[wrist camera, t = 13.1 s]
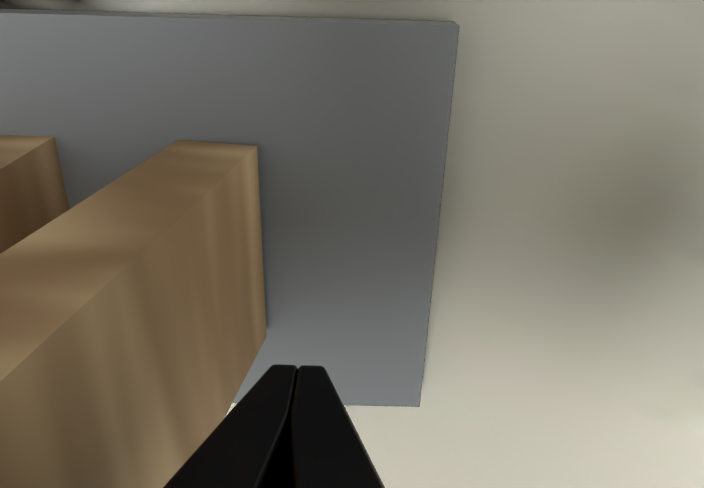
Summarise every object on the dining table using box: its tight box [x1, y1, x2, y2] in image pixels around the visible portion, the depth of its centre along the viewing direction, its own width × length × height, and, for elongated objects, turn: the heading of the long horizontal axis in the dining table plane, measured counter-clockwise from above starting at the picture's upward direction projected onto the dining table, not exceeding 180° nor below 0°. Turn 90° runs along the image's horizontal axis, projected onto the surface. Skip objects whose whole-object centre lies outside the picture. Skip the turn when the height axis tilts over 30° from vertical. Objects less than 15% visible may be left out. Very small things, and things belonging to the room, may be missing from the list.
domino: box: [0, 140, 267, 488], centre depth 9 cm, size 2×5×10 cm, turn 179°
